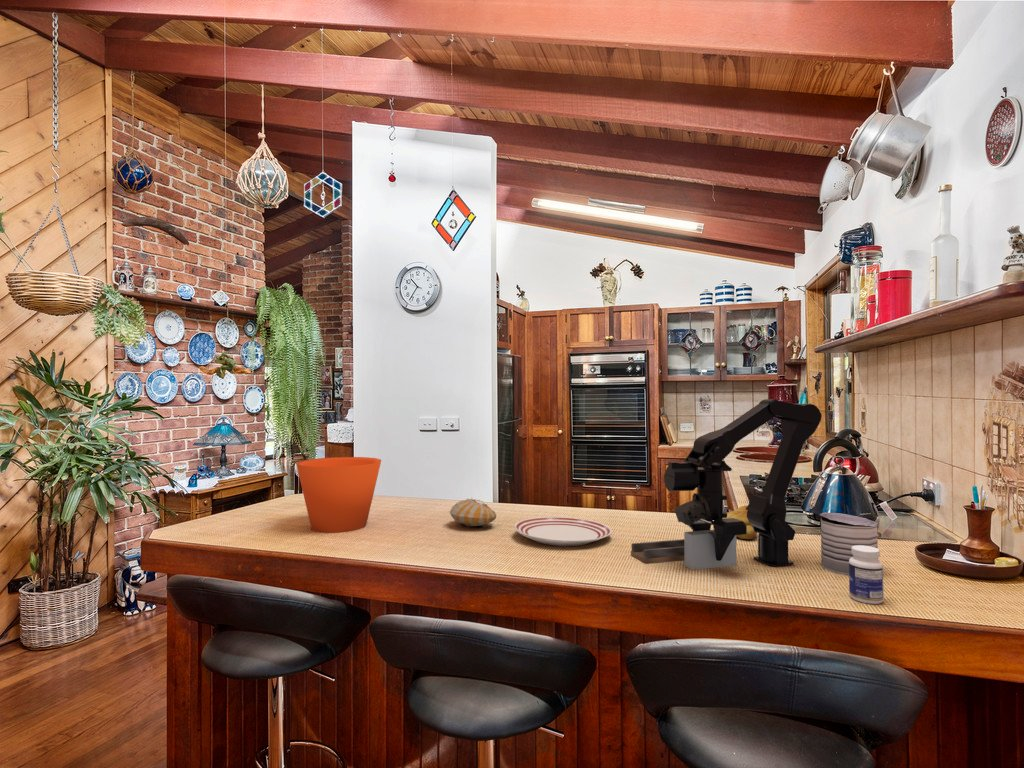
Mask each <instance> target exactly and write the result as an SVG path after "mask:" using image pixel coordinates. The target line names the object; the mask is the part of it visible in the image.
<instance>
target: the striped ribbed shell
mask: <svg viewBox="0 0 1024 768" xmlns="http://www.w3.org/2000/svg"><path fill="white" fill-rule="evenodd" d="M449 515H451V517H452V518H453V520H454V521H455V523H459V524H462V525H464V526H467V527H469V528H470V527H478V526H479V527H480V526H481V527H482V528H483V527H485V526H486V525H487V524H490V523H493V522H494V521H495V520H496V519H497V513H496V512H495V510H493V509H492V508H491V507H489V506H488V504H487V503H485V502H483V501H482V500H480V499H479V500H478V499H473V498H466V499H463V500H459V501H457V502H456V503H455V504H454V505H453V506H452V507H451V509H450V511H449Z"/></svg>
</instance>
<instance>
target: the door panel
mask: <svg viewBox="0 0 1024 768" xmlns="http://www.w3.org/2000/svg"><path fill="white" fill-rule="evenodd" d="M710 531H715V530H714V529H710V530H703V531H693V530H692V531H684V534H683V535H684V538H683V539H684V560H683V561H684V567H686V568H687V569H689V570H692V571H693V570H702V569H713V568H722V567H733V566H737V537H736V535H735V537H734V538H733V540H732V541H731V543H730V545H729V546H728V548H727V550H726V552H725V554H724V556H723V558H722V560H721V561H717V560H716V555H715V544H714V538H713V536H712V535H711V534H710V533H709V532H710Z"/></svg>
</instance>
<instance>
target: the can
mask: <svg viewBox="0 0 1024 768" xmlns="http://www.w3.org/2000/svg"><path fill="white" fill-rule="evenodd" d="M818 516H821V517H820V546H821V547H820V550H821V551H820V554H821V556H820V558H821V561H820V562H821V563H820V564H821V567H822V568H823V569H824V570H827V571H829V572H832V573H835V574H837V575H838V574H839V575H845V576H849V559H850V558H851V557H853V554H852V553H851V548H852V546H856V545H864V546H871V547H875V548H877V549H879V548H878V547H879V546H878V545H879V544H878V543H879V542H878V541H879V540H878V524H879V523H878V522H876V521H873V520H871V519H868V518H865V517H861V516H857V515H851V514H845V513H838V512H837V513H836V512H825V511H824V512H822V513H820V514H818Z"/></svg>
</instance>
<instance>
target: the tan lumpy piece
mask: <svg viewBox="0 0 1024 768" xmlns="http://www.w3.org/2000/svg"><path fill="white" fill-rule="evenodd" d="M747 506H748V505H741V506H740V507H737V508H736V509H735V510H730V511H728V512H726V513H727V518H735V519H738V520H741V521H743V522H744V523H745V524H746V525H747V534H742V535H736V538H739V539H740V540H753V539H755V538H756V537H757V534H758V533H756V532H754V530H753V527H752V525H751V524H750V523H749V521H748V518H747V511H748V510H746V508H747ZM727 518H722V519H727Z"/></svg>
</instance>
